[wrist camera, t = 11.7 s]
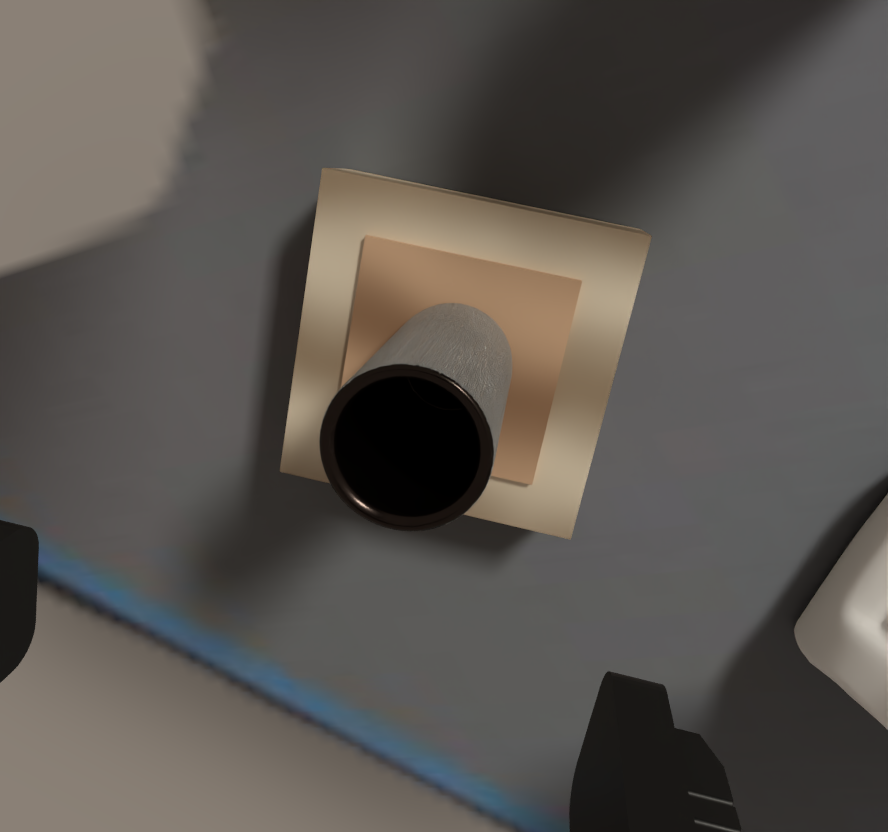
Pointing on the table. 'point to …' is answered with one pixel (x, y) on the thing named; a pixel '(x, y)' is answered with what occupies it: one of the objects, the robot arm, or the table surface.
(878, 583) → the statue
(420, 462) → the grey and black cylinder
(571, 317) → the plinth
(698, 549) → the table surface
